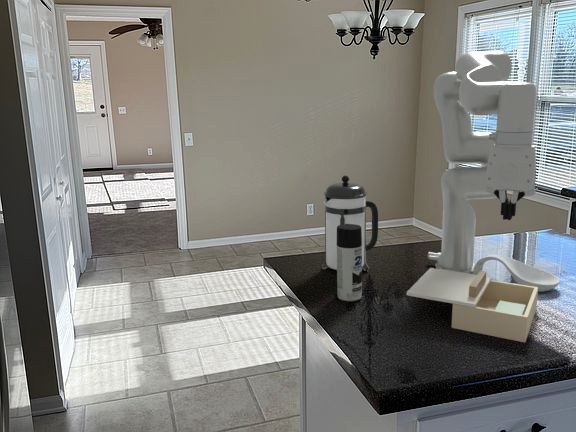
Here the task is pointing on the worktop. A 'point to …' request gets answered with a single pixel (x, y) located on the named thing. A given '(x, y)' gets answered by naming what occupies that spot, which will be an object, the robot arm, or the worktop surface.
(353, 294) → the spray can
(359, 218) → the coffee press
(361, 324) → the worktop surface
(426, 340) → the worktop surface
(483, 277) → the lid
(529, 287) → the box
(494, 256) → the spoon rest
